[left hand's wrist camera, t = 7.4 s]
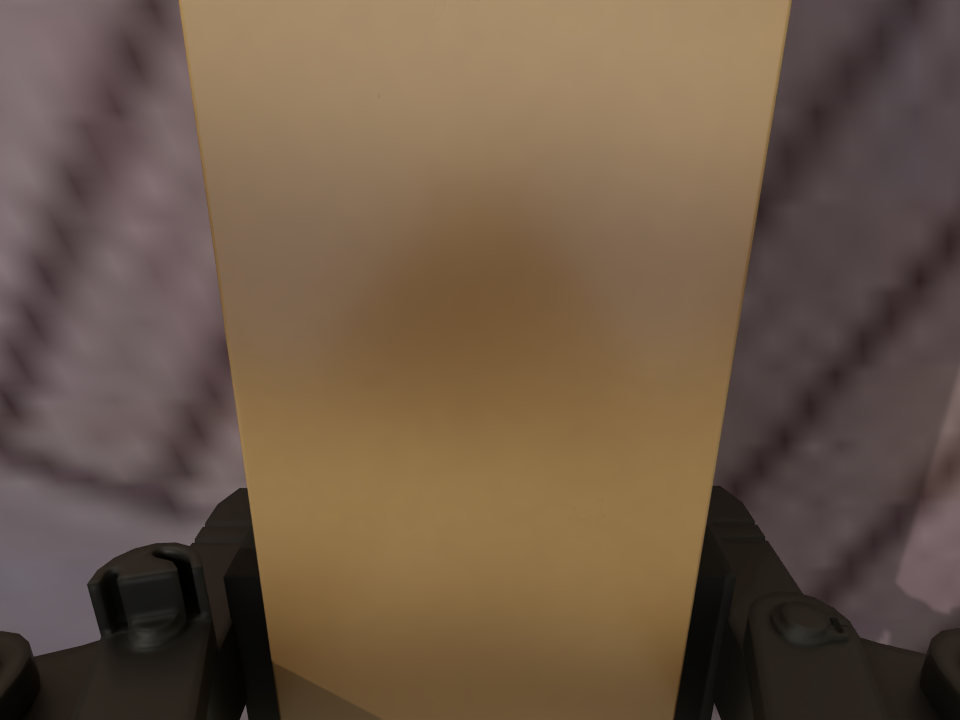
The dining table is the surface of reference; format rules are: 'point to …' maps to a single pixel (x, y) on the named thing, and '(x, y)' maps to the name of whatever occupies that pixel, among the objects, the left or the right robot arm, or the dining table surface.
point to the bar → (481, 333)
